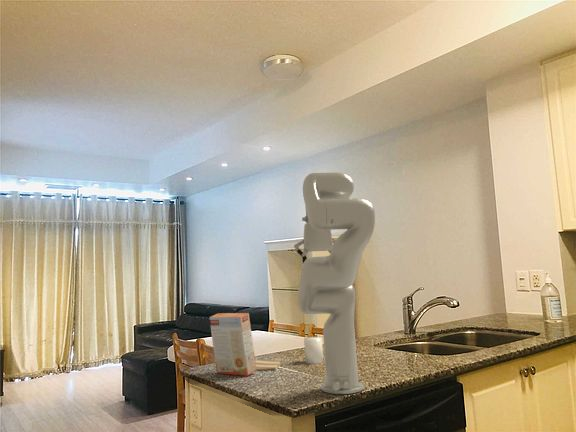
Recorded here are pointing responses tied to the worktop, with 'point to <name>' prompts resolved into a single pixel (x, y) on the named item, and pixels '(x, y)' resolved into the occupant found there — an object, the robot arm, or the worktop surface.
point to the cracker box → (233, 343)
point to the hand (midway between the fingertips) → (319, 267)
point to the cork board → (267, 364)
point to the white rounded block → (313, 350)
